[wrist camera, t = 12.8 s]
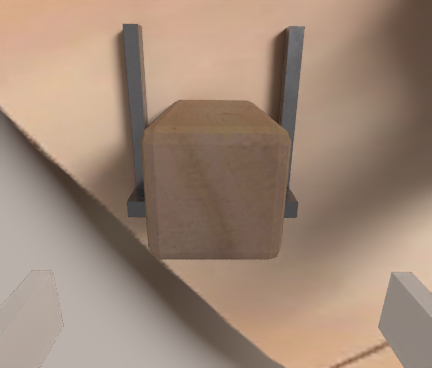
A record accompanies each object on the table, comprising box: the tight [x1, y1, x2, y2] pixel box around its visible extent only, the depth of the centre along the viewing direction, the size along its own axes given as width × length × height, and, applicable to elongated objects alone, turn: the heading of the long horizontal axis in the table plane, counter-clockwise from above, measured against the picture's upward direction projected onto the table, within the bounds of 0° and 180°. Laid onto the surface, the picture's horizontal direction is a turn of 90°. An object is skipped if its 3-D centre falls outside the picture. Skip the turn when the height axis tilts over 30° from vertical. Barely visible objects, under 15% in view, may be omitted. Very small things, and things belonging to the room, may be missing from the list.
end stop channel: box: [123, 24, 305, 218], centre depth 36 cm, size 21×20×6 cm
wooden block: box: [141, 100, 291, 259], centre depth 31 cm, size 10×10×20 cm
